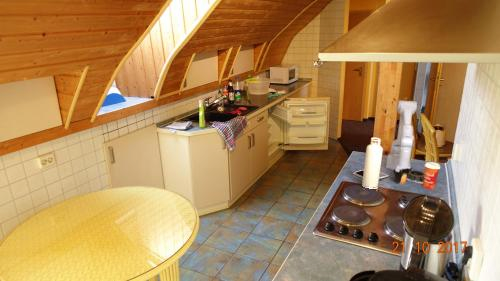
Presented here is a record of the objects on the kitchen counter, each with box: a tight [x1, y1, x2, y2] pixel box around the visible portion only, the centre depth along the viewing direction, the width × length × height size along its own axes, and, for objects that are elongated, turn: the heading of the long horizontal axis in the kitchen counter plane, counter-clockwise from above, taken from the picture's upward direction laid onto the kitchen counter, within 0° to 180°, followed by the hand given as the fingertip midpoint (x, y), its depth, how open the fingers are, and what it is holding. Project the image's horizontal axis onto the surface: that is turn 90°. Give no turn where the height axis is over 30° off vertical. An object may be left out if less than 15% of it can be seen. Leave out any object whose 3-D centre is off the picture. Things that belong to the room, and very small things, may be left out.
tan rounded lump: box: [396, 173, 407, 185], centre depth 198 cm, size 5×5×6 cm
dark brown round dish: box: [406, 169, 424, 183], centre depth 204 cm, size 11×11×3 cm
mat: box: [406, 178, 423, 185], centre depth 206 cm, size 14×12×1 cm
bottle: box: [361, 137, 384, 190], centre depth 187 cm, size 8×8×28 cm
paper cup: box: [422, 161, 441, 190], centre depth 191 cm, size 8×8×14 cm
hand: (401, 180), depth 198 cm, fingers open, 7 cm apart
